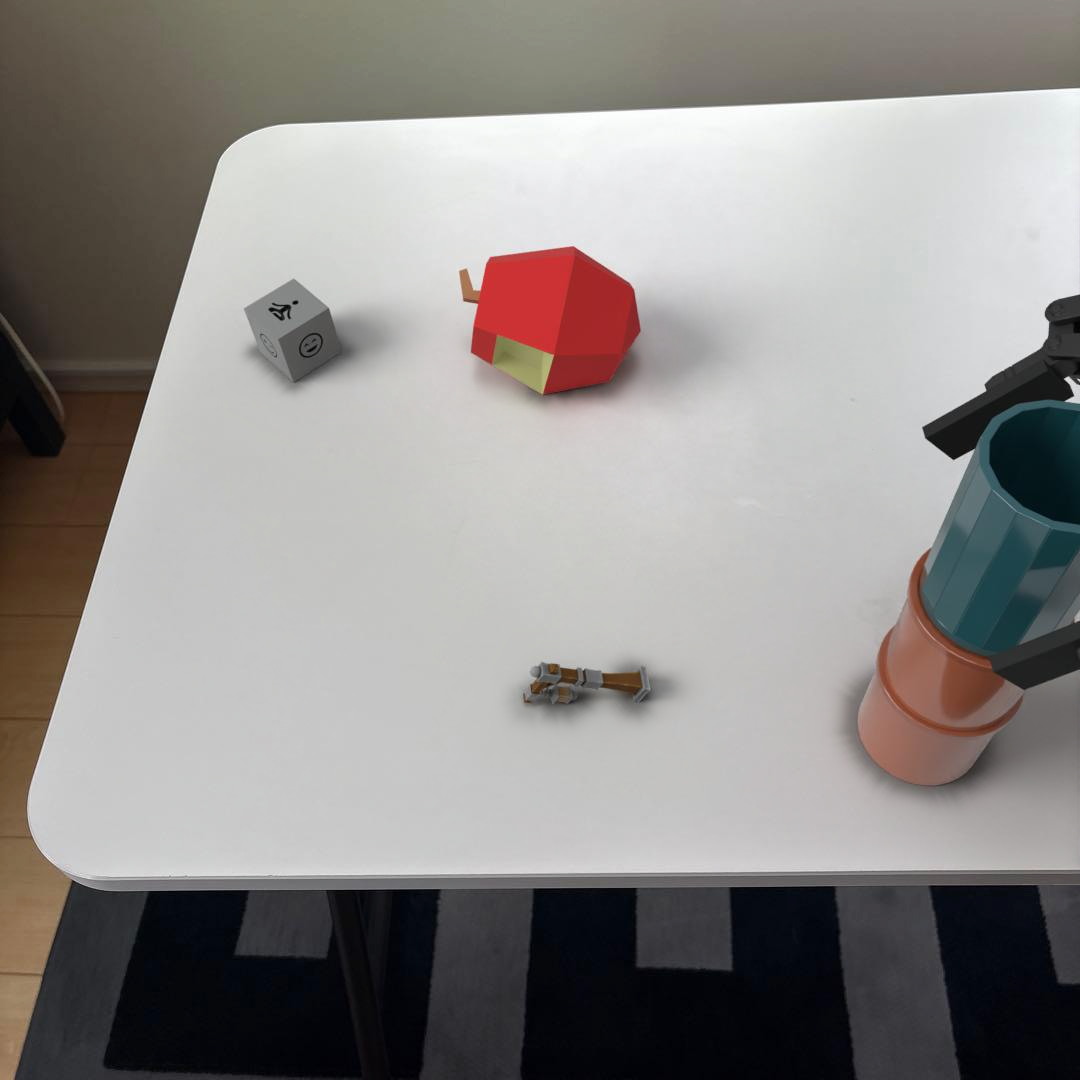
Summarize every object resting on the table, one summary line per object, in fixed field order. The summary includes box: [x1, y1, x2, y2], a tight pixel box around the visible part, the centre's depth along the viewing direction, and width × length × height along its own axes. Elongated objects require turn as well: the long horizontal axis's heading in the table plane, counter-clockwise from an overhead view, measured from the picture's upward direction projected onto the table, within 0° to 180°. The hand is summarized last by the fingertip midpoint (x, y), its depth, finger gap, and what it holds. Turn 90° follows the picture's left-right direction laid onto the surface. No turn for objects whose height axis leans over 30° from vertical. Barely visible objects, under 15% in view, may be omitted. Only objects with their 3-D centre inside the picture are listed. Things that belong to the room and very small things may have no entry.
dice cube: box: [243, 278, 343, 383], centre depth 88 cm, size 5×5×5 cm
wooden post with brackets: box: [522, 661, 651, 705], centre depth 70 cm, size 2×8×4 cm, turn 95°
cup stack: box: [857, 546, 1076, 786], centre depth 61 cm, size 8×8×16 cm
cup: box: [920, 400, 1080, 657], centre depth 50 cm, size 7×7×11 cm
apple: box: [458, 245, 642, 396], centre depth 83 cm, size 12×12×15 cm
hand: (968, 550), depth 51 cm, fingers open, 13 cm apart
